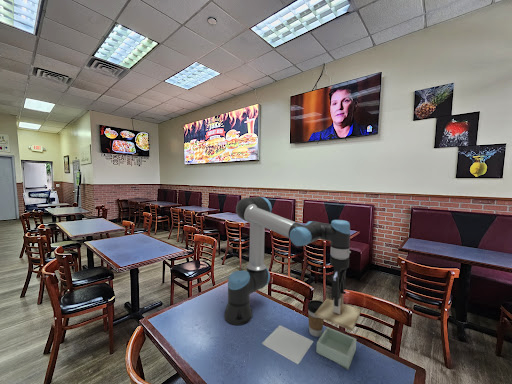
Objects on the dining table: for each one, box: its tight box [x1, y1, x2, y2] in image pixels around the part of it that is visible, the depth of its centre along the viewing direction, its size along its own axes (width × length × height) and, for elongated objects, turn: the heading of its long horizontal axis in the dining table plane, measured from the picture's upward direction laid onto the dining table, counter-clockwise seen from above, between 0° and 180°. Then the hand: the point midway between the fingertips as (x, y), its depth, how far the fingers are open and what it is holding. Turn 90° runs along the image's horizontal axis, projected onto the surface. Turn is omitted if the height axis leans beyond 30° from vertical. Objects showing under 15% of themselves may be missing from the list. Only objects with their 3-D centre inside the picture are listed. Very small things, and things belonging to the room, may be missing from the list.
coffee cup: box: [306, 299, 325, 338], centre depth 105 cm, size 8×8×15 cm
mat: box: [261, 324, 314, 365], centre depth 98 cm, size 18×16×1 cm
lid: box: [315, 294, 362, 331], centre depth 93 cm, size 15×15×8 cm
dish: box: [315, 326, 357, 371], centre depth 94 cm, size 13×13×5 cm
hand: (338, 310), depth 93 cm, fingers closed on lid, 3 cm apart
